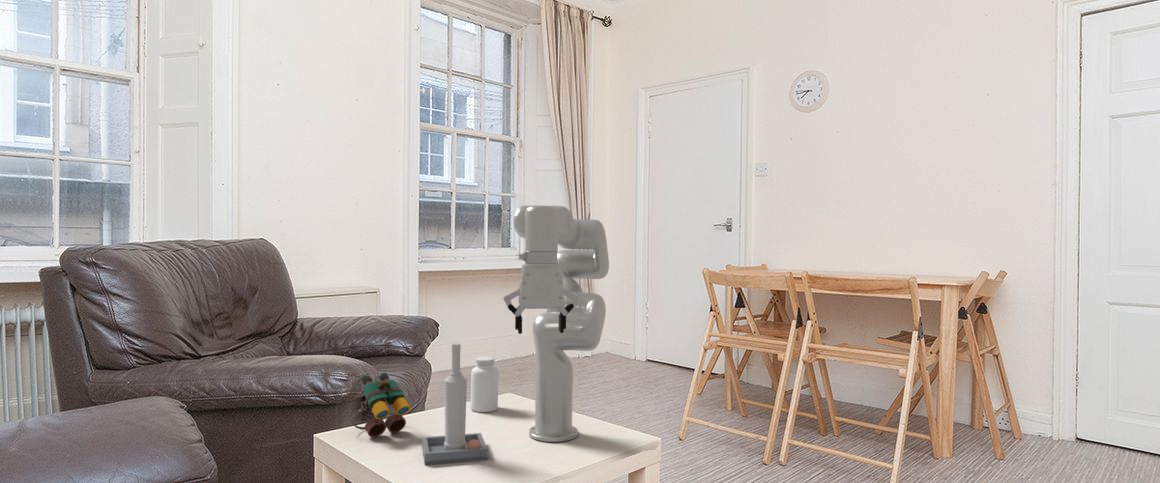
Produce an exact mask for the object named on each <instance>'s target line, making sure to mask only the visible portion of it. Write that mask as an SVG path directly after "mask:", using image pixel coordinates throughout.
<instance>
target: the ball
mask: <svg viewBox="0 0 1160 483" xmlns="http://www.w3.org/2000/svg"><path fill="white" fill-rule="evenodd" d="M474 448H481V444H480V442H479V441H478V440H476V439H472V440H470V441H469V442H468V443H467V449H474Z"/></svg>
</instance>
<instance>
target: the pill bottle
mask: <svg viewBox="0 0 1160 483" xmlns="http://www.w3.org/2000/svg"><path fill="white" fill-rule="evenodd" d="M470 374H471V376H470V410H471V411H473V412H476V413H490V412H491V413H492V412H495V411H497V410H498V406H499V369H498V367H496V366H495V358H494V357H492V356H479V357H476V359H475V367H473V368H472V369H471V373H470Z"/></svg>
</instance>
